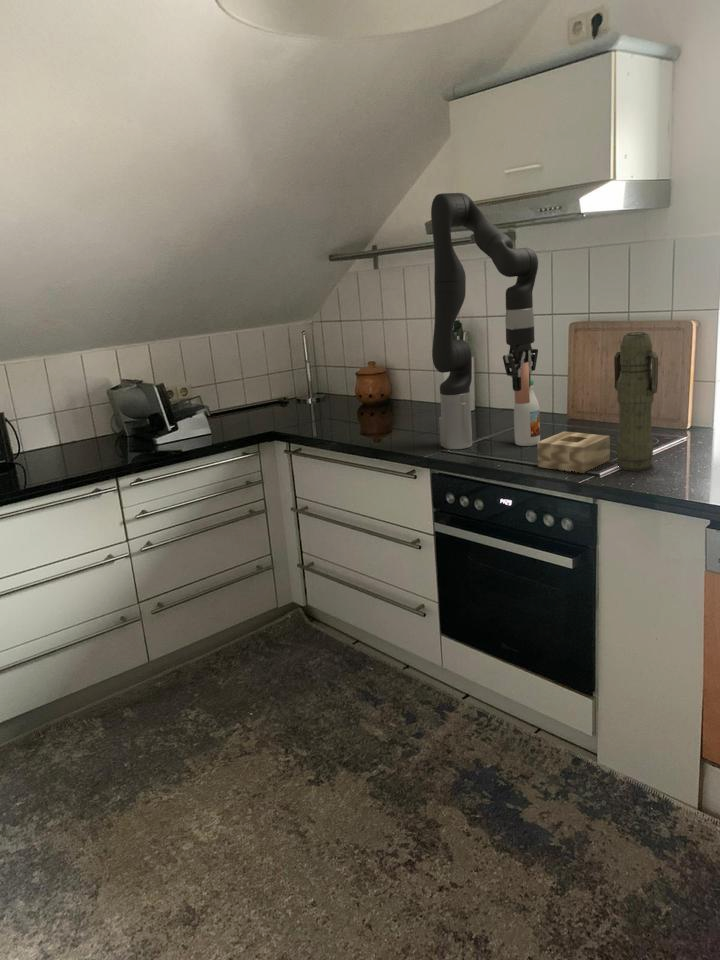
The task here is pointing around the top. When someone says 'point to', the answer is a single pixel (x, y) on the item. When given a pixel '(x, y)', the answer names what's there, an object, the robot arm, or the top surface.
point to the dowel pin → (523, 386)
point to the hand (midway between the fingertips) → (521, 388)
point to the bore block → (573, 451)
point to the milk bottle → (527, 421)
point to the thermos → (635, 400)
